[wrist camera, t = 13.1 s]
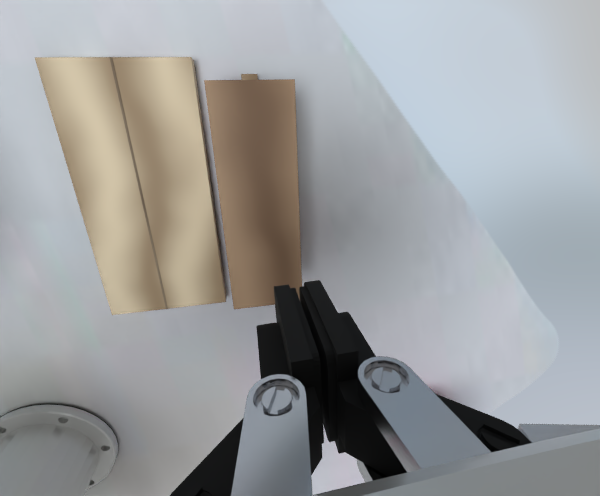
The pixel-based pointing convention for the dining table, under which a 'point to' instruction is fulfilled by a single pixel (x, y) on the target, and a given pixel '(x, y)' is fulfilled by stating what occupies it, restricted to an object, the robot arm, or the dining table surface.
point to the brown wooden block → (257, 184)
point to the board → (140, 176)
